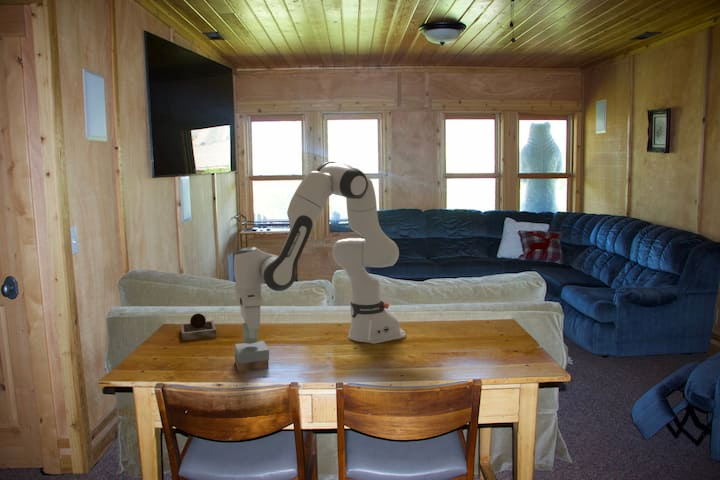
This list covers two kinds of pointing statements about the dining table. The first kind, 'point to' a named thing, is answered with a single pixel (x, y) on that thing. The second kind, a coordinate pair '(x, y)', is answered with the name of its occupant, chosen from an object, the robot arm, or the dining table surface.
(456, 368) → the dining table surface
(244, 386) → the dining table surface
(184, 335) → the wooden frame
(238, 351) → the grey slab
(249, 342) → the sage green rounded oval
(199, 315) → the compass
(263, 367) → the walnut slab
